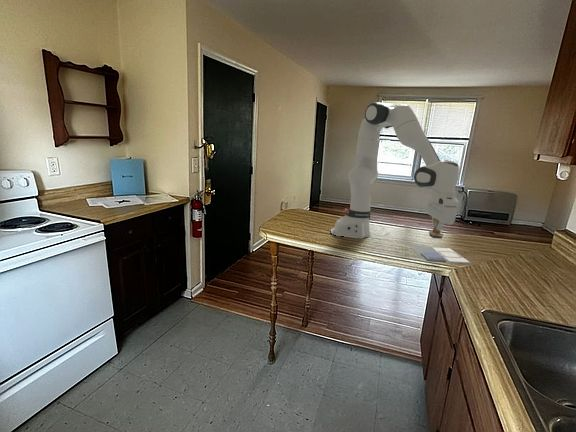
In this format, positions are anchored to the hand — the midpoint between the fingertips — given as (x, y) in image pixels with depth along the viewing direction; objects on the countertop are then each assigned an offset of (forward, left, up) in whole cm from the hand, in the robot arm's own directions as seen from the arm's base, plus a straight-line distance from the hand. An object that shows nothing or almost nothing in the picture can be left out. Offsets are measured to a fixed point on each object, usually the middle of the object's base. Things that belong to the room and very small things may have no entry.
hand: (436, 228), depth 139 cm
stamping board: (+5, +5, -15) cm, 16 cm away
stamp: (0, 0, -4) cm, 4 cm away
